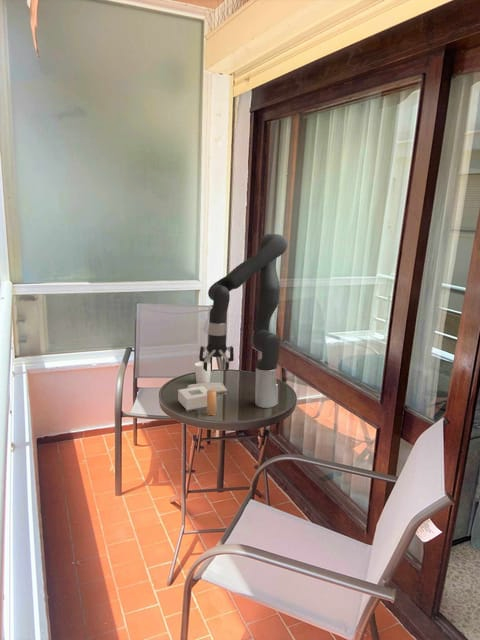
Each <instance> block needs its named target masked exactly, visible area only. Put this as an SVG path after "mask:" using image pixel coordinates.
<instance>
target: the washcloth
mask: <svg viewBox="0 0 480 640" xmlns="http://www.w3.org/2000/svg"><path fill="white" fill-rule="evenodd" d="M200 386H204V387H205V388H206V389H207V390H208V391H209V390H215V391H216V396H221V395H228V393H227V391H228V389H227V387H226V386H225V385H224V384H223V382H212V381H210V382H208V383H199V384H197V383H193V384H188V385H187V386H186V389H187V388H193V387H200Z"/></svg>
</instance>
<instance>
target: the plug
mask: <svg viewBox="0 0 480 640" xmlns="http://www.w3.org/2000/svg"><path fill="white" fill-rule="evenodd" d="M207 414H208V415H207ZM214 414H216V415H217V395H216V391H215V390H209V391H207V409H206V415H207V416H209V415H214ZM214 416H215V415H214Z"/></svg>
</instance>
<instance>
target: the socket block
mask: <svg viewBox="0 0 480 640" xmlns="http://www.w3.org/2000/svg"><path fill="white" fill-rule="evenodd" d="M207 391H208V390H207V389H206V388H205V387H204V386H200V387H193V388H187V387H186V388H181V389H177V395H178V397H177V398H178V399H177V401H179V402H180V404H181V405H182V406H183V407H184V408H185V409H186V410H187V411H191V410H196V411H201V410H200V409H202V410H207V409H206V408H207ZM179 402H178V403H179ZM180 404H179V405H180ZM181 405H180V406H181ZM182 406H181V407H182ZM183 407H182V408H183ZM184 408H183V409H184ZM185 409H184V410H185ZM186 410H185V411H186ZM187 411H186V412H187ZM191 412H192V411H191Z"/></svg>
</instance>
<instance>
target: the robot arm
mask: <svg viewBox="0 0 480 640" xmlns="http://www.w3.org/2000/svg"><path fill="white" fill-rule="evenodd" d="M259 243H260V244H259V252H257V253H255V254H254V255H253V256H252V257H250V258H248V259H246V260H244V261H243V262H241V263H240V264H238V265H237V266H236V267H234V268H233V269H232V270H231V271H230V272H229V273H228V274H227V275H225V276H224V277H222V278H220V279H218V280H217V281H216V282H214V283H213V284H212V285H211V286H210V287H209V289H208V291H207V295H208V298H209V299H210V300H211V301H213V302H212V308H210V309H209V310H210V311H209V319H208V320H209V321H208V322H209V323H208V330H207V331H208V332H207V334H208V335H207V346H203V345H200V347H199V357H198V359H199V362H204V365H203V368H204V370H205V371H207V362H209V360H210V359H211V358H216V357H217V358H221V357H222V359H224V360H225V361H224V362H225V363H224V371H225V372H228V370H230V362H233V361H234V360H235V359H234V347H233V346H232V345H231V346H230V345H229V346H227V329H228V328H227V311H228V308H229V303H230V298H231V297H230V292H231V291H232V290H236V289H239V288H240V287H241V286H243V284H244V283H245V282H247V281H248V280H249V279H250V278H251V277H252V276H254V275H255V274H256V273H257V272H259V281H258V282H259V284H258V289H257V290H258V292H257V293H258V294H257V308H256V318H255V324H254V329H253V336H252V345H253V346H252V347H253V348H254V349H255V350H256V351H258V352H261V353H262V354H261V358H259V359H257V360H256V361H255V397H254V399H255V400H254V401H255V402H254V403H255V406H257V407H259V408H267V409H268V408H269V409H270V408H273V407H275V406H277V405H278V404H279V403H278V402H279V384H278V383H277V377H278V376H277V375H278V374H277V373H278V372H277V369H278V368H277V367H278V363H279V359H280V358H279V357H280V348H281V346H280V345H281V343H280V338H279V336H278V335H277V334H276V333H272V332H270V322H271V320H272V316H273V314H274V313H275V311H276V309H277V308H278V306H279V302H280V294H281V293H280V292H281V285H280V280H279V277H278V272H277V258H279V257H281V256H282V255H283V254H284V253H285V252H286V251H287V249H288V241H287V239H286V237H285V236H283V235H282V234H278V233H277V234H276V233H267V234H265V235H264V236H263V237H262V239H261V240H260V242H259ZM206 351H207V352H208V353H207V354H206V355H205V356H204V353H205V352H206ZM227 351H228V352H229V357H228V356H227V355H226V352H227Z"/></svg>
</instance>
